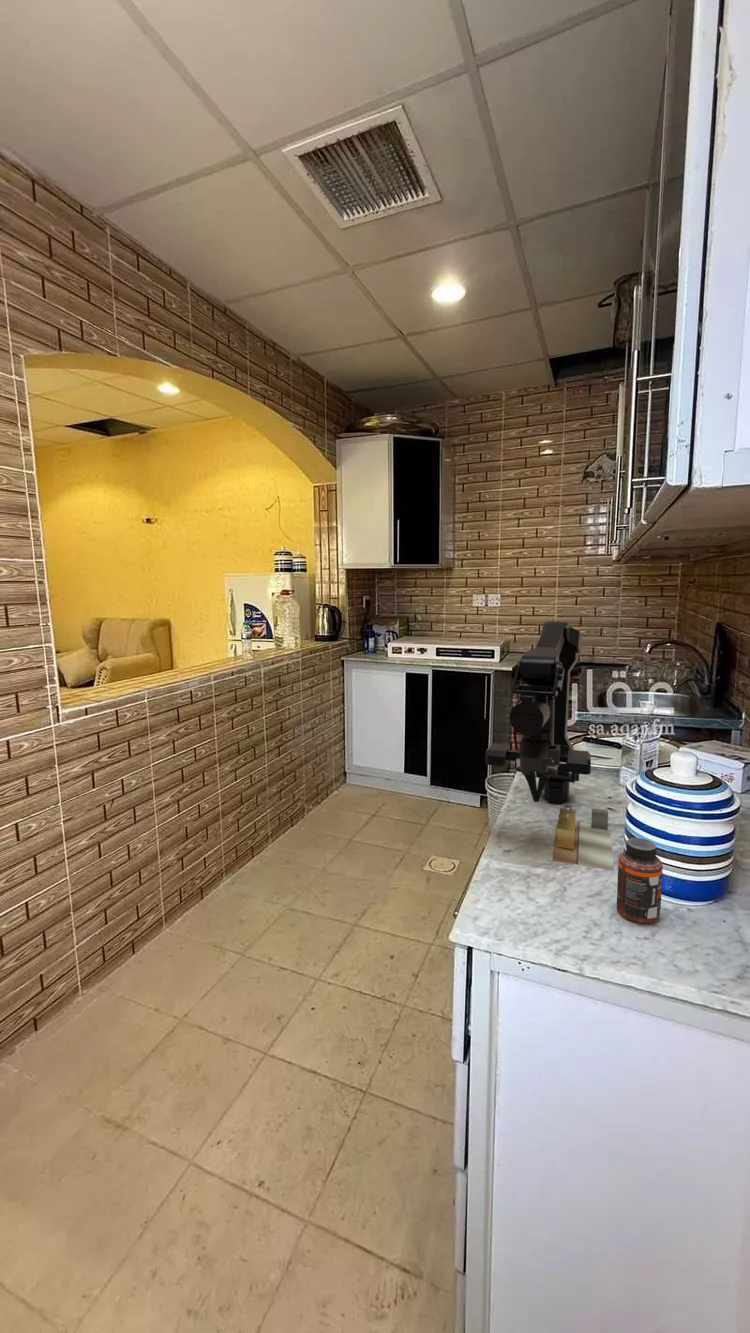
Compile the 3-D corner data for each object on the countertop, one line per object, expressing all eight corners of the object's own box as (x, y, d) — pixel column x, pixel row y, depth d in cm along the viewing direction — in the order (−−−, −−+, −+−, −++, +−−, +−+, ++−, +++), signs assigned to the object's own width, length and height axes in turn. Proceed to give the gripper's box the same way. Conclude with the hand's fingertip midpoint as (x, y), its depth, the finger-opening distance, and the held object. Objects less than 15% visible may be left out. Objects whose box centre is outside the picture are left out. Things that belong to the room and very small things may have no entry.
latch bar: (559, 824, 107) (560, 804, 107) (575, 826, 106) (575, 806, 106) (556, 846, 98) (557, 824, 97) (573, 849, 97) (574, 827, 96)
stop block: (591, 824, 107) (591, 808, 107) (607, 827, 106) (607, 810, 106) (591, 828, 106) (591, 811, 105) (607, 830, 105) (608, 813, 104)
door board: (557, 825, 110) (557, 819, 110) (609, 832, 107) (609, 826, 106) (552, 866, 94) (552, 860, 94) (613, 876, 90) (613, 870, 90)
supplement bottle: (665, 928, 76) (670, 854, 75) (621, 923, 78) (625, 851, 76) (652, 904, 82) (656, 835, 81) (612, 900, 83) (615, 833, 82)
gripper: (479, 728, 94) (479, 811, 97) (592, 737, 87) (589, 826, 90) (490, 714, 105) (490, 789, 107) (591, 721, 98) (589, 801, 100)
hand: (536, 801), depth 100 cm, fingers closed
